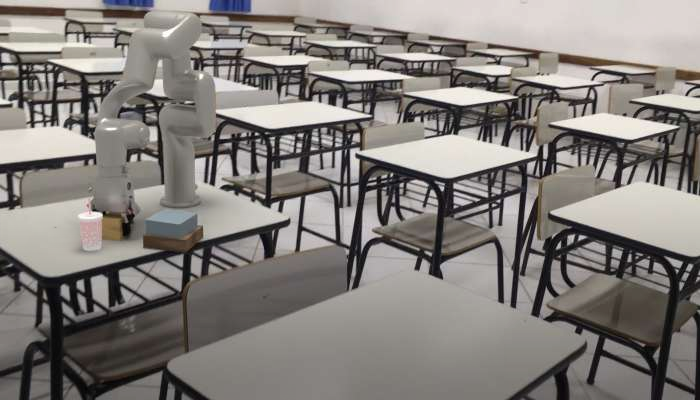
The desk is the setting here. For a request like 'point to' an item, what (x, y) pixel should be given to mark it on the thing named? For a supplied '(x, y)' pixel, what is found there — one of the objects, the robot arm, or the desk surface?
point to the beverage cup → (91, 229)
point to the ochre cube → (112, 226)
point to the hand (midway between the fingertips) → (115, 233)
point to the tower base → (173, 241)
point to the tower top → (171, 223)
